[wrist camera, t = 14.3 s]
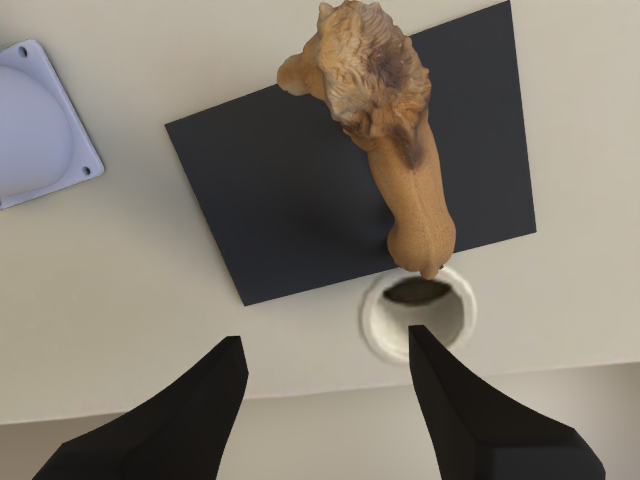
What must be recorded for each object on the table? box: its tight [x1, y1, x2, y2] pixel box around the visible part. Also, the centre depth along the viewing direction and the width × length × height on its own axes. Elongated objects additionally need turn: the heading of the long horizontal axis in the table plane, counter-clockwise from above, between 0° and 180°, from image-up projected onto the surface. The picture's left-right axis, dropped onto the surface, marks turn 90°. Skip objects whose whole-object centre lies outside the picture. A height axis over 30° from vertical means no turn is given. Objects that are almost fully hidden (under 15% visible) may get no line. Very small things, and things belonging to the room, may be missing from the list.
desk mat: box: [165, 0, 536, 306], centre depth 21 cm, size 20×13×1 cm, turn 108°
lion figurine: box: [277, 0, 456, 279], centre depth 16 cm, size 15×5×9 cm, turn 31°
